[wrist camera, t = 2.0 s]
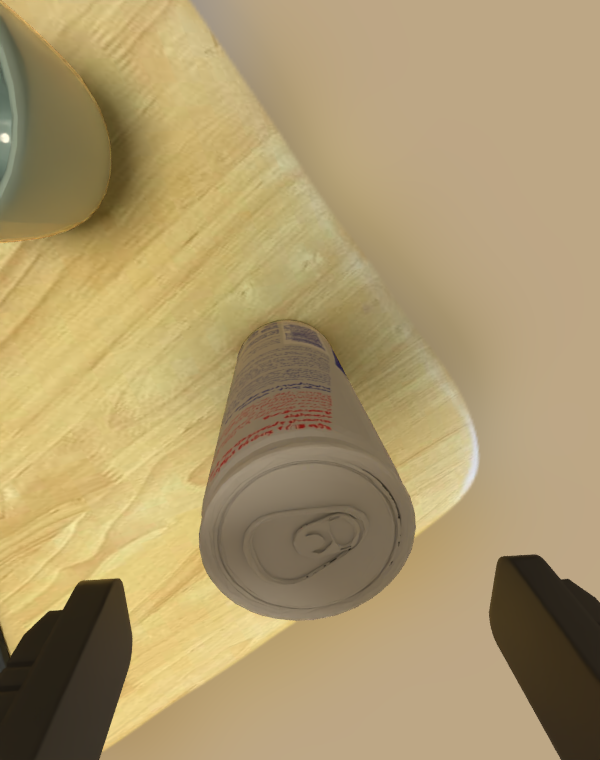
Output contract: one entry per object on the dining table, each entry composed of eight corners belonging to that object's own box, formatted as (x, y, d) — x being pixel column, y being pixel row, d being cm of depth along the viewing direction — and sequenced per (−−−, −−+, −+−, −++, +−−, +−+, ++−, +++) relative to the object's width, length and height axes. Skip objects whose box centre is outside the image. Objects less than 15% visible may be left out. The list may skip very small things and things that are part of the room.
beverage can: (218, 381, 25) (152, 577, 11) (270, 298, 24) (273, 400, 10) (299, 427, 26) (335, 657, 12) (353, 352, 25) (463, 511, 11)
